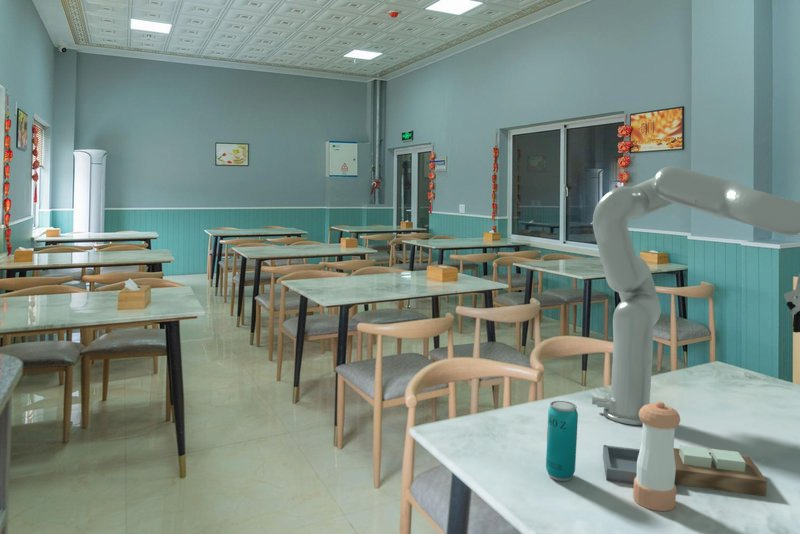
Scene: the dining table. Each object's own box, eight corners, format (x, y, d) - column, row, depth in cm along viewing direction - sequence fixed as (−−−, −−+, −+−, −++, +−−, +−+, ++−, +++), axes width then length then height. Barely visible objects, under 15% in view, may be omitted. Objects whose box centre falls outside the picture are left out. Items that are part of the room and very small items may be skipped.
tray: (606, 480, 116) (607, 468, 116) (602, 455, 128) (603, 445, 127) (674, 489, 113) (675, 477, 112) (664, 463, 124) (665, 452, 124)
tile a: (716, 468, 115) (717, 458, 115) (710, 457, 120) (711, 448, 120) (744, 471, 114) (745, 462, 114) (737, 461, 119) (738, 451, 118)
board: (674, 483, 115) (675, 469, 115) (665, 460, 125) (666, 447, 125) (765, 496, 111) (767, 481, 110) (748, 470, 121) (749, 457, 121)
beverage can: (552, 467, 122) (555, 398, 120) (579, 475, 118) (582, 404, 116) (540, 476, 117) (543, 405, 115) (567, 485, 114) (571, 412, 112)
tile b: (683, 464, 117) (684, 454, 117) (679, 454, 122) (679, 445, 121) (711, 467, 116) (711, 458, 115) (705, 457, 120) (706, 448, 120)
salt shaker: (663, 491, 112) (669, 395, 110) (682, 511, 105) (690, 409, 103) (626, 491, 112) (632, 395, 110) (643, 511, 104) (649, 409, 102)
